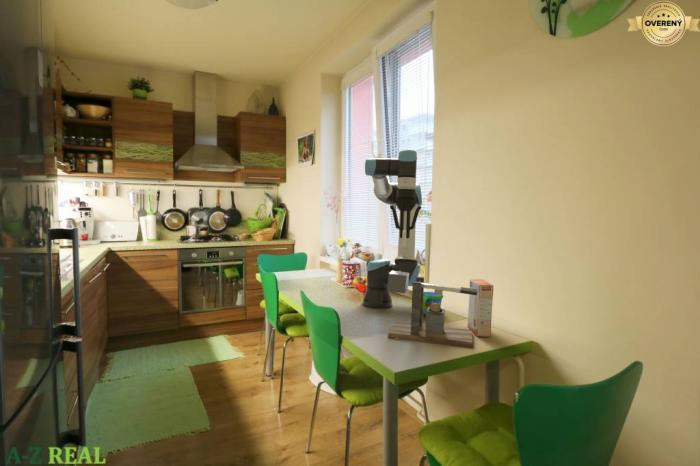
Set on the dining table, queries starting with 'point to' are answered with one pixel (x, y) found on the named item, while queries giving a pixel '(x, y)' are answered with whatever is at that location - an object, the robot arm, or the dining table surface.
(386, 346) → the dining table surface
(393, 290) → the lever
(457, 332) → the press base
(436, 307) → the tan ball
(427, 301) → the snack cup
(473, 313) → the cracker box
